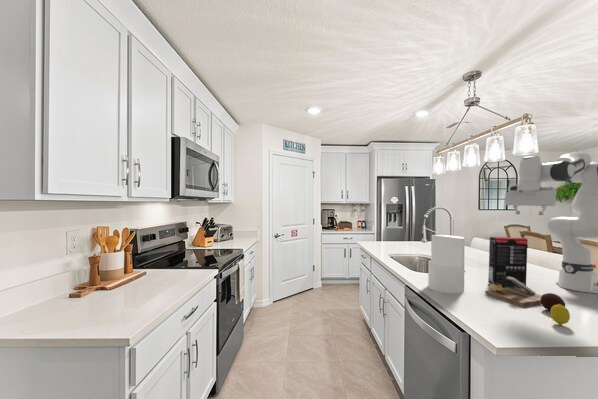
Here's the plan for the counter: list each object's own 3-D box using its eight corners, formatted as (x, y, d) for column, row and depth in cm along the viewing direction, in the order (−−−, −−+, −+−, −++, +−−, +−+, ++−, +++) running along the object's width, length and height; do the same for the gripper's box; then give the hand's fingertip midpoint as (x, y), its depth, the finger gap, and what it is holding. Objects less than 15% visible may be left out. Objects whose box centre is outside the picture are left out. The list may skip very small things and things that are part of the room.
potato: (547, 314, 120) (547, 296, 120) (535, 306, 128) (535, 289, 129) (570, 316, 117) (570, 298, 117) (557, 308, 126) (557, 291, 126)
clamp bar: (528, 292, 142) (529, 290, 142) (534, 294, 139) (535, 292, 140) (506, 278, 138) (507, 276, 138) (513, 279, 135) (513, 277, 136)
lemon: (546, 322, 112) (546, 301, 112) (559, 321, 112) (559, 301, 112) (560, 328, 106) (560, 306, 106) (574, 328, 107) (574, 306, 107)
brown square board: (514, 291, 151) (514, 287, 151) (553, 303, 133) (553, 298, 133) (485, 294, 145) (485, 290, 145) (522, 307, 128) (522, 302, 128)
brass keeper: (496, 289, 146) (496, 282, 146) (507, 292, 140) (507, 286, 140) (490, 289, 145) (490, 283, 145) (501, 293, 139) (501, 286, 139)
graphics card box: (519, 284, 163) (519, 236, 163) (528, 288, 156) (528, 238, 156) (487, 283, 165) (488, 236, 165) (494, 287, 158) (495, 237, 158)
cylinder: (440, 282, 166) (440, 234, 166) (470, 290, 151) (471, 237, 152) (421, 286, 157) (421, 235, 157) (452, 295, 142) (452, 239, 143)
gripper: (558, 187, 139) (557, 215, 139) (508, 188, 155) (507, 213, 155) (555, 186, 135) (554, 215, 135) (504, 187, 151) (503, 213, 151)
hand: (529, 214), depth 145 cm, fingers open, 8 cm apart
